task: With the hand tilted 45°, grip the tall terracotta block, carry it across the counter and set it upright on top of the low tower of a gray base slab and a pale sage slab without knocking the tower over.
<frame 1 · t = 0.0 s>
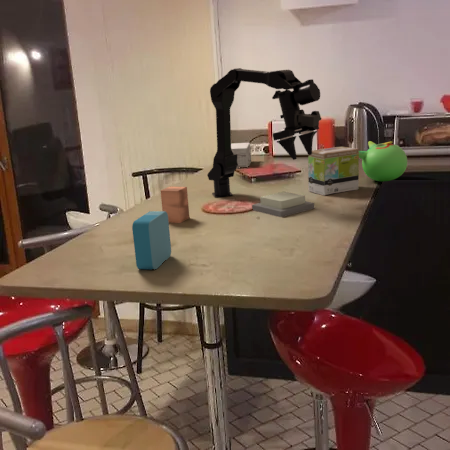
hand: (302, 157, 192), 15 cm above the breakfast bar, tool pointing down, fingers open, 9 cm apart
green rounded body: (383, 181, 222), on the breakfast bar
data package: (155, 263, 147), on the breakfast bar
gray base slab: (283, 211, 191), on the breakfast bar, touching sage top slab
terracotta block: (176, 219, 187), on the breakfast bar
tea box: (333, 191, 212), on the breakfast bar
sage top slab: (282, 203, 190), point 2 cm above the breakfast bar, touching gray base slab
supplement box: (235, 166, 278), on the breakfast bar
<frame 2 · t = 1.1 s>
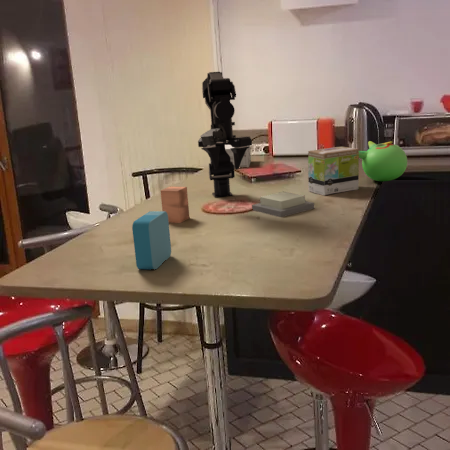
hand: (226, 169, 191), 14 cm above the breakfast bar, tool pointing down, fingers open, 9 cm apart
nothing on the breakfast bar moved.
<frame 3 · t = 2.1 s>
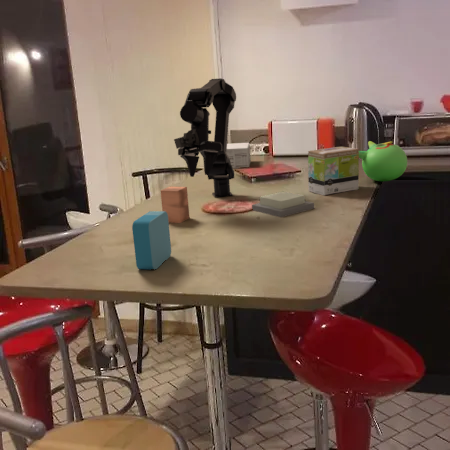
hand: (199, 175, 193), 12 cm above the breakfast bar, tool tilted 15°, fingers open, 9 cm apart
nothing on the breakfast bar moved.
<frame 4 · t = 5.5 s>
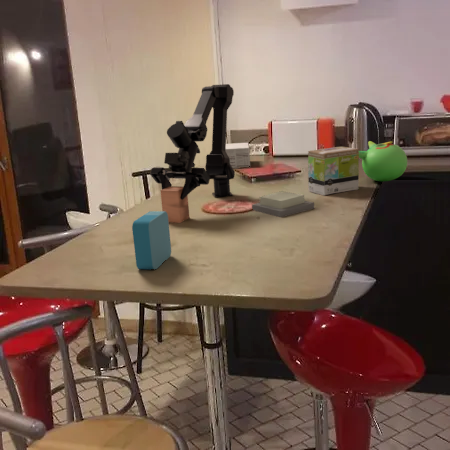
hand: (172, 198, 184), 7 cm above the breakfast bar, tool tilted 45°, fingers closed on terracotta block, 6 cm apart
terracotta block: (176, 219, 187), on the breakfast bar, touching gripper
everything else where it was.
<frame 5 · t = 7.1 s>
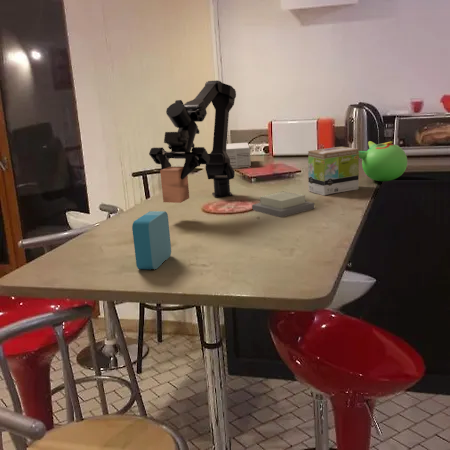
hand: (172, 178, 182), 13 cm above the breakfast bar, tool tilted 45°, fingers closed on terracotta block, 6 cm apart
terracotta block: (176, 200, 185), point 6 cm above the breakfast bar, touching gripper
everything else where it was.
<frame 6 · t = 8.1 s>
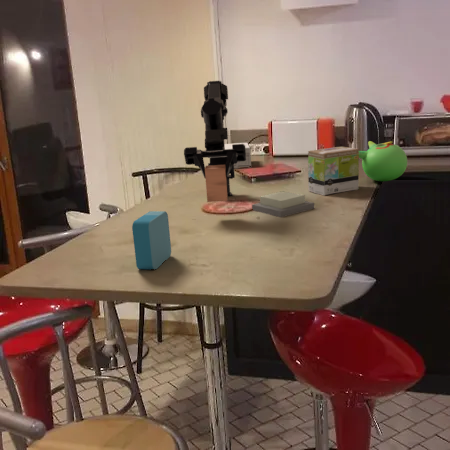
hand: (215, 177, 180), 13 cm above the breakfast bar, tool tilted 45°, fingers closed on terracotta block, 6 cm apart
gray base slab: (283, 211, 191), on the breakfast bar
terracotta block: (217, 199, 183), point 6 cm above the breakfast bar, touching gripper
sage top slab: (282, 203, 191), point 2 cm above the breakfast bar
everything else where it was.
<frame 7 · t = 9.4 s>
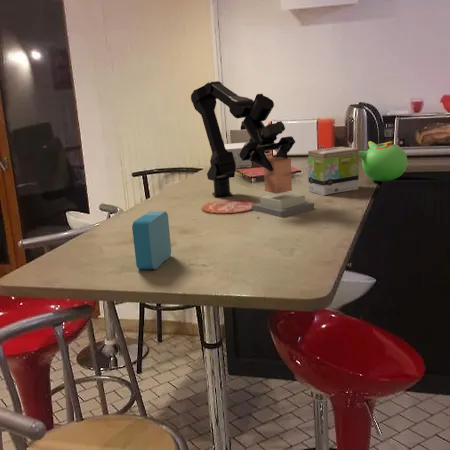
hand: (280, 168, 185), 13 cm above the breakfast bar, tool tilted 45°, fingers closed on terracotta block, 6 cm apart
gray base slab: (283, 211, 191), on the breakfast bar, touching sage top slab
terracotta block: (278, 190, 188), point 6 cm above the breakfast bar, touching gripper
sage top slab: (282, 203, 190), point 2 cm above the breakfast bar, touching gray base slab
everything else where it was.
when the fingers open (13 cm above the breakfast bar, at t = 10.5 s): terracotta block drops 2 cm, resting on sage top slab.
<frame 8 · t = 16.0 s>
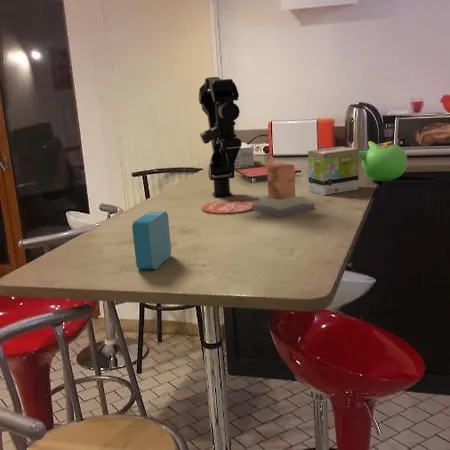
hand: (228, 166, 199), 13 cm above the breakfast bar, tool pointing down, fingers open, 9 cm apart
terracotta block: (281, 196, 190), point 4 cm above the breakfast bar, touching sage top slab
sage top slab: (281, 204, 190), point 2 cm above the breakfast bar, touching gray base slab, terracotta block
at the end: terracotta block 0.3 cm off-centre on the sage top slab, point 2.6 cm above the sage top slab's base; terracotta block tilted 1°; sage top slab 0.4 cm off-centre on the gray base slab, point 2.5 cm above the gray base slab's base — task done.
